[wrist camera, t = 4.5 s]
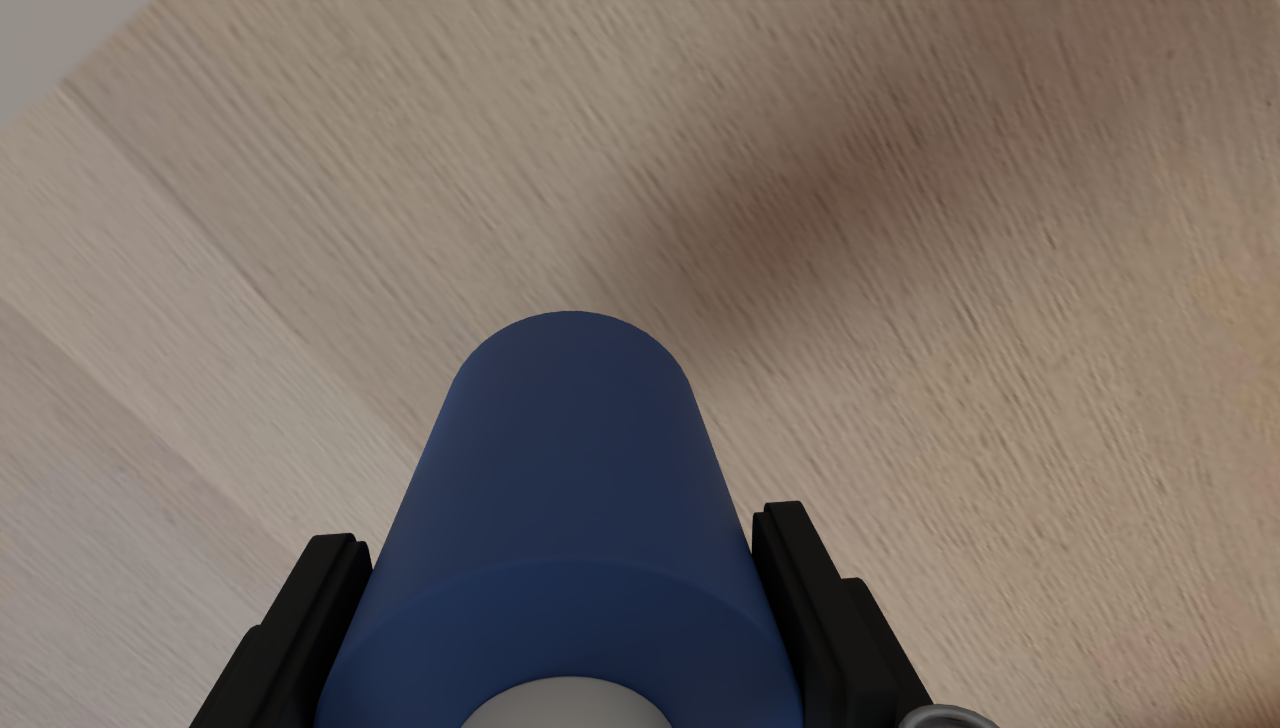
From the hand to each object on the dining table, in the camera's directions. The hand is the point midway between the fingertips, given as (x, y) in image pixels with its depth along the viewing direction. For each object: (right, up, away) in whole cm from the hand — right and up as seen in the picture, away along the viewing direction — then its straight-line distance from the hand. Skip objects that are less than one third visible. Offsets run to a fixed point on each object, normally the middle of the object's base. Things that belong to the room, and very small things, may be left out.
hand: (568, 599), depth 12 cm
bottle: (0, +2, +6) cm, 6 cm away
